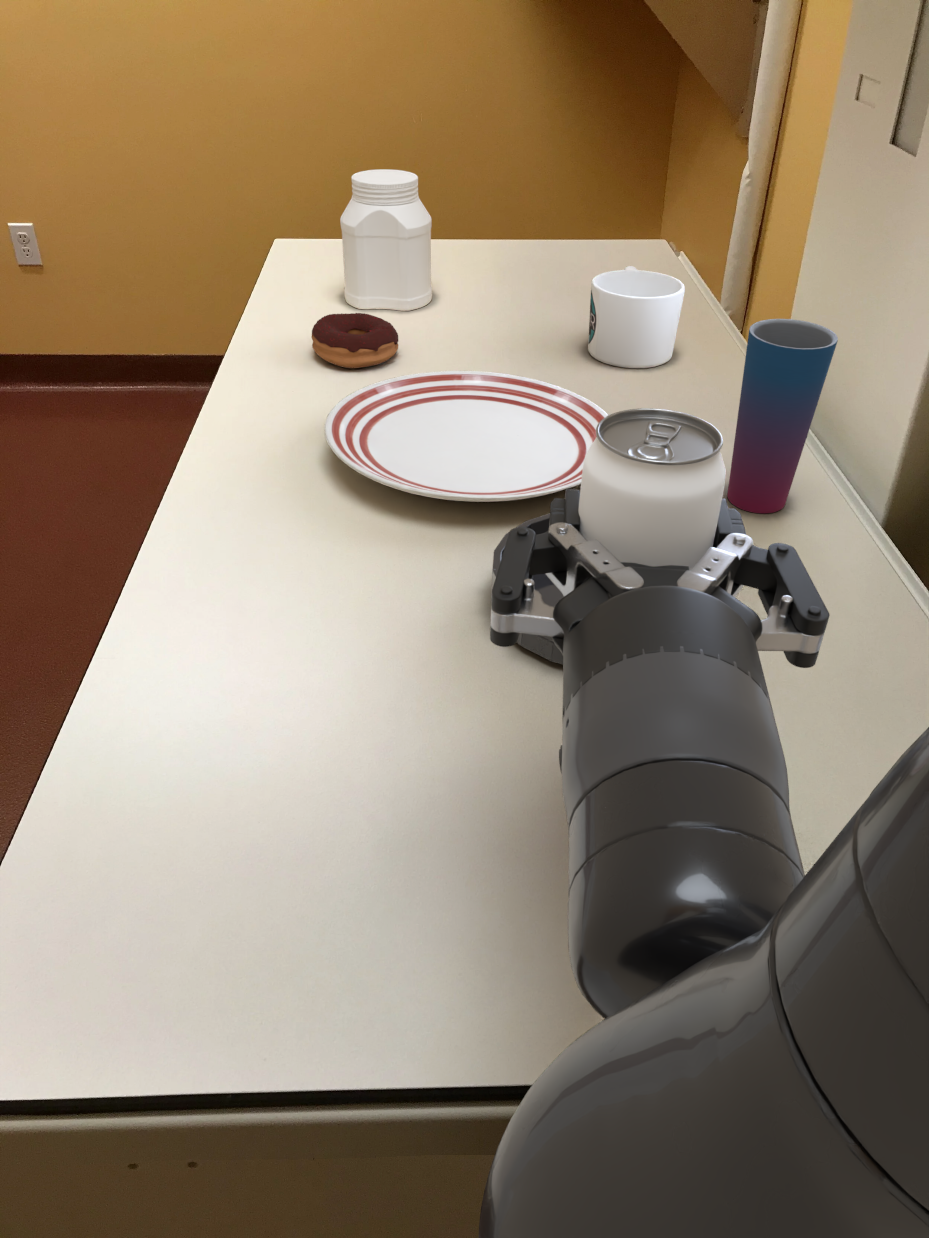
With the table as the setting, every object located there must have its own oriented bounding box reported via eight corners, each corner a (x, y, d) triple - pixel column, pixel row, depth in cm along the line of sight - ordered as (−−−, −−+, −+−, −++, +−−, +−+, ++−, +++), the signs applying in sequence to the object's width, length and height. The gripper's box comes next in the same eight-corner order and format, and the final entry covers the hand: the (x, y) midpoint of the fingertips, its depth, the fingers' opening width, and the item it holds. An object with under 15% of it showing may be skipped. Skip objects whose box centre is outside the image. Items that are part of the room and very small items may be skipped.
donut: (406, 368, 108) (405, 334, 105) (318, 375, 106) (315, 340, 103) (390, 337, 116) (389, 304, 113) (308, 343, 114) (305, 309, 111)
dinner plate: (530, 380, 106) (532, 350, 104) (677, 490, 86) (682, 457, 84) (289, 422, 96) (286, 391, 94) (392, 558, 76) (391, 522, 74)
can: (549, 668, 48) (568, 450, 41) (584, 600, 53) (606, 395, 46) (677, 700, 46) (720, 478, 39) (701, 626, 51) (743, 417, 44)
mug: (681, 371, 108) (692, 299, 104) (588, 368, 108) (595, 297, 104) (664, 329, 119) (673, 263, 114) (579, 327, 119) (585, 261, 115)
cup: (704, 503, 84) (736, 336, 75) (734, 474, 89) (767, 312, 80) (779, 527, 81) (822, 355, 72) (806, 495, 86) (849, 330, 77)
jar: (339, 308, 123) (331, 183, 115) (351, 285, 131) (344, 166, 122) (428, 312, 123) (427, 187, 114) (434, 288, 131) (434, 169, 122)
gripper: (904, 672, 32) (805, 448, 45) (469, 642, 32) (500, 432, 46) (847, 827, 36) (773, 581, 49) (465, 797, 37) (494, 564, 50)
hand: (641, 510), depth 48 cm, fingers closed on can, 6 cm apart
